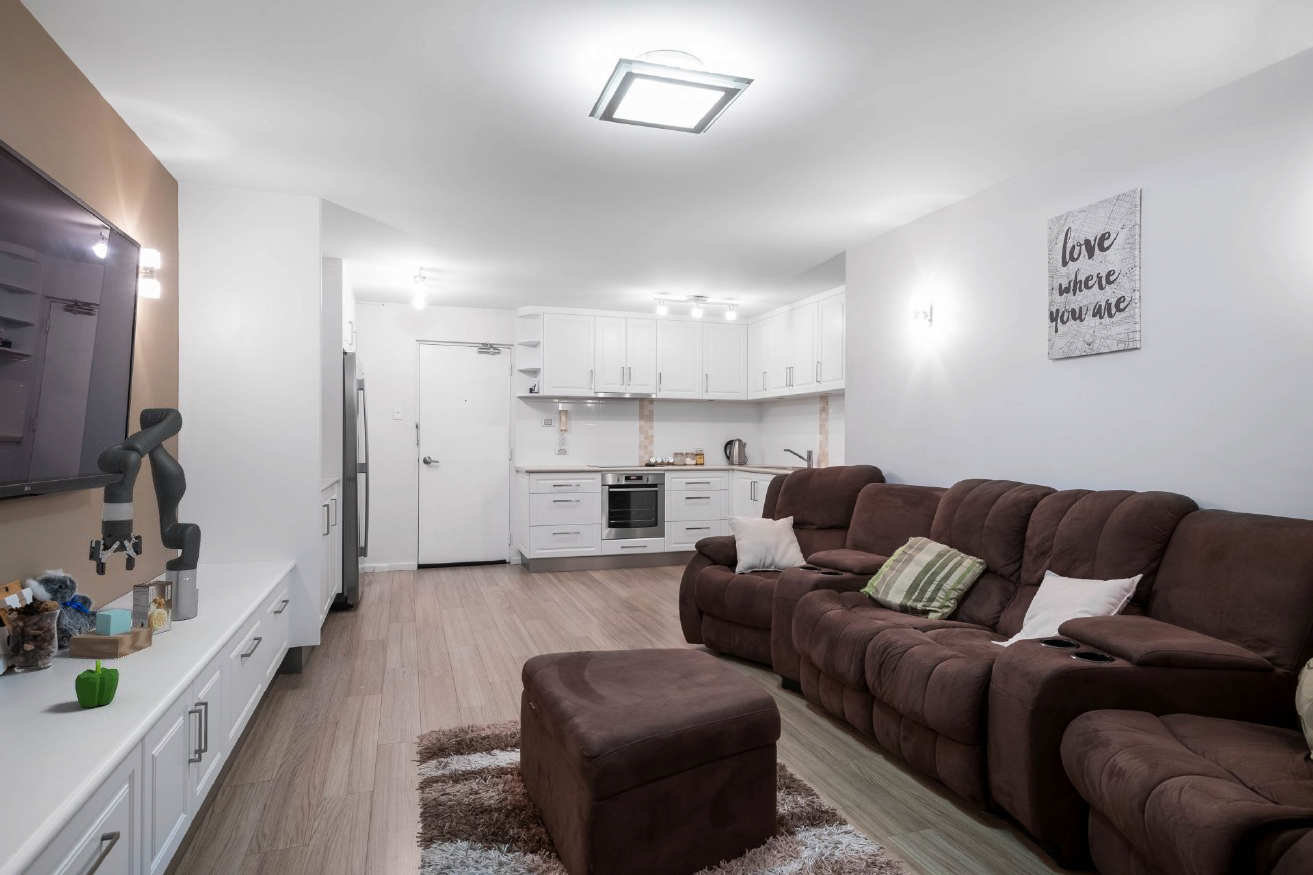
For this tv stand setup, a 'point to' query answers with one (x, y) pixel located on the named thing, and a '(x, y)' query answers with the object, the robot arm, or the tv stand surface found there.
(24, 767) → the tv stand surface
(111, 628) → the teal cube
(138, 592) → the coffee box
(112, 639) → the walnut block
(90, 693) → the bell pepper
